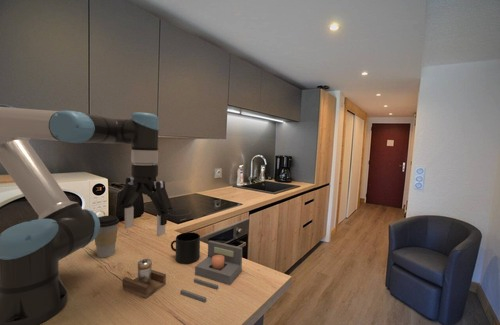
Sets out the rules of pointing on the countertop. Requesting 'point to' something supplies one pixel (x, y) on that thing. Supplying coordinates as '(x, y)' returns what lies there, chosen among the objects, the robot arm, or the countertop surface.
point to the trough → (141, 288)
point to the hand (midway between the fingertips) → (144, 231)
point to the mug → (187, 247)
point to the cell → (144, 271)
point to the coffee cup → (106, 236)
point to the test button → (218, 262)
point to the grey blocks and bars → (225, 275)
